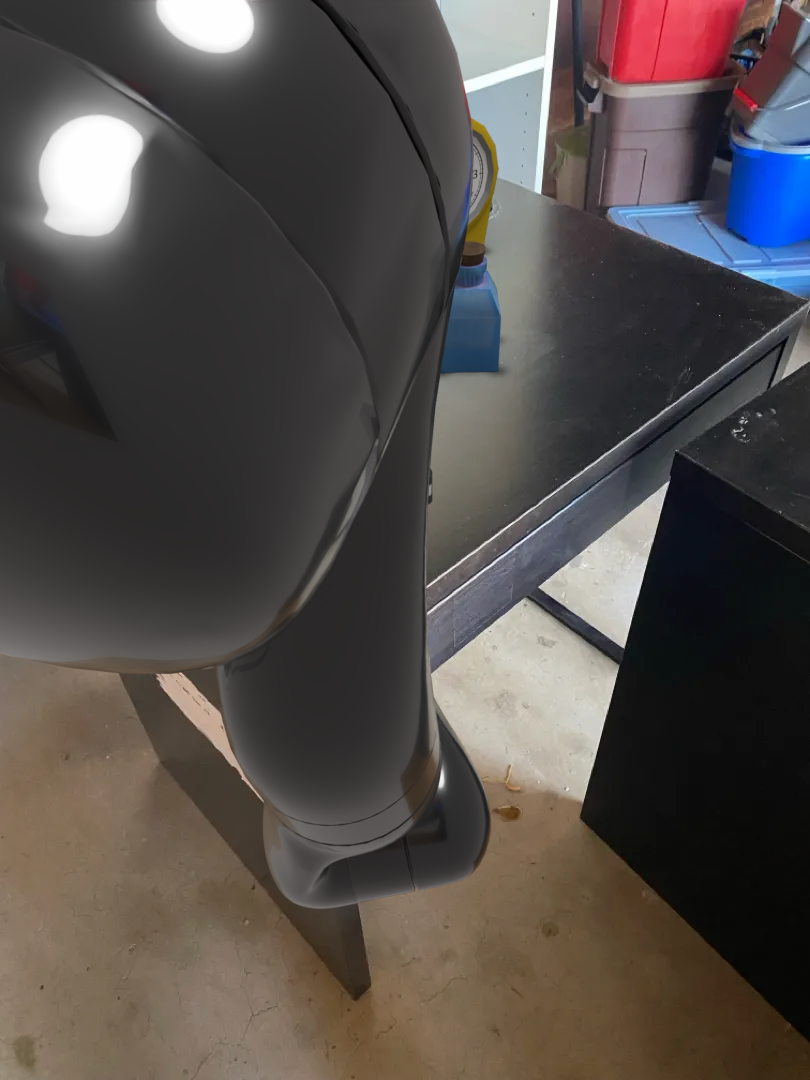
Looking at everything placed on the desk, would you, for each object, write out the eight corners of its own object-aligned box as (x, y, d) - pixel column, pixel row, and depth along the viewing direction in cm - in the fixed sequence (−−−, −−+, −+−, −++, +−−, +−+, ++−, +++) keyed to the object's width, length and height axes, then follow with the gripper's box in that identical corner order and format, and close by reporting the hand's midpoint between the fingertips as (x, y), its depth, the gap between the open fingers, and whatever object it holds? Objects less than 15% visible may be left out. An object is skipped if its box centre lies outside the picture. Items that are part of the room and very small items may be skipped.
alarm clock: (395, 277, 102) (388, 118, 90) (366, 253, 108) (356, 99, 95) (497, 250, 107) (504, 95, 94) (465, 228, 112) (467, 78, 100)
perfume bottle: (498, 371, 86) (504, 261, 78) (438, 372, 86) (438, 263, 78) (494, 340, 91) (499, 233, 82) (438, 342, 91) (437, 235, 83)
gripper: (459, 510, 49) (414, 361, 61) (212, 539, 47) (216, 381, 59) (456, 596, 54) (415, 443, 66) (234, 625, 52) (234, 463, 64)
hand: (321, 414), depth 62 cm, fingers closed on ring, 6 cm apart
